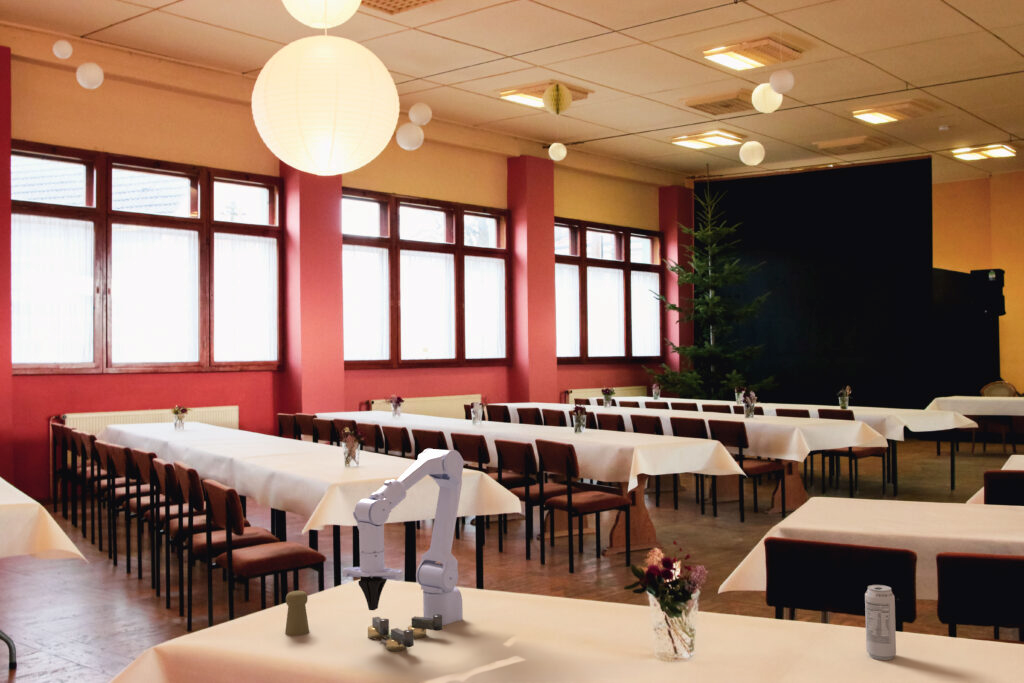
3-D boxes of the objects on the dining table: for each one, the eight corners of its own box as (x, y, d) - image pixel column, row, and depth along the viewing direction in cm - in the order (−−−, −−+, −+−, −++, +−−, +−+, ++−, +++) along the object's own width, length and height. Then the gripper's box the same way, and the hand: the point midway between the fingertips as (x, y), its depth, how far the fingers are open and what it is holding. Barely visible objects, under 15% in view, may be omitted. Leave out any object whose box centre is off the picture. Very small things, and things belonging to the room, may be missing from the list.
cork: (303, 641, 216) (302, 595, 216) (280, 640, 217) (279, 594, 218) (314, 633, 222) (313, 588, 222) (291, 632, 223) (290, 588, 224)
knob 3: (404, 637, 214) (404, 615, 214) (413, 631, 218) (413, 610, 218) (437, 641, 211) (437, 618, 211) (446, 635, 215) (445, 613, 215)
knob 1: (365, 634, 217) (365, 613, 217) (383, 631, 219) (382, 610, 219) (376, 645, 209) (376, 622, 209) (395, 642, 211) (394, 619, 211)
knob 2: (383, 647, 207) (382, 625, 207) (400, 643, 209) (399, 621, 209) (402, 657, 200) (402, 634, 200) (419, 653, 202) (419, 630, 202)
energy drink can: (901, 656, 197) (899, 587, 197) (888, 663, 193) (886, 592, 193) (874, 649, 202) (872, 582, 202) (861, 656, 198) (859, 587, 198)
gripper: (335, 553, 209) (337, 611, 209) (392, 556, 204) (394, 616, 204) (350, 546, 216) (351, 603, 216) (405, 549, 211) (407, 607, 211)
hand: (373, 609), depth 210 cm, fingers closed
